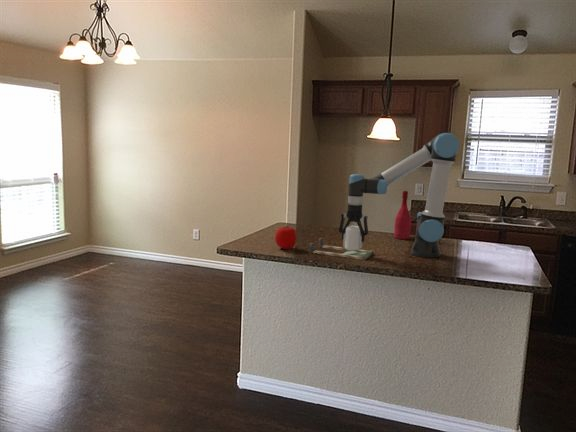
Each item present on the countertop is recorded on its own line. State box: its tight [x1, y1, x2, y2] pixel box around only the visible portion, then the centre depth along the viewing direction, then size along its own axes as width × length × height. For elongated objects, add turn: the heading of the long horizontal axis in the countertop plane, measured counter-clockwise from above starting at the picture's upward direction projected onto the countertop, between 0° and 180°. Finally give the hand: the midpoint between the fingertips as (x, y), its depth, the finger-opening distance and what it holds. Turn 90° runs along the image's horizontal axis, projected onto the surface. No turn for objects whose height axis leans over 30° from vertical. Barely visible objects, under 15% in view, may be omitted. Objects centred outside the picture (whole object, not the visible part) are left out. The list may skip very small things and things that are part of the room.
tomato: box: [274, 225, 297, 250], centre depth 255 cm, size 12×12×13 cm
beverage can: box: [344, 224, 361, 250], centre depth 246 cm, size 8×8×12 cm
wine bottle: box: [393, 190, 412, 240], centre depth 292 cm, size 10×10×30 cm
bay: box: [309, 237, 374, 261], centre depth 250 cm, size 30×17×5 cm, turn 67°
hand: (352, 246), depth 247 cm, fingers closed on beverage can, 8 cm apart
